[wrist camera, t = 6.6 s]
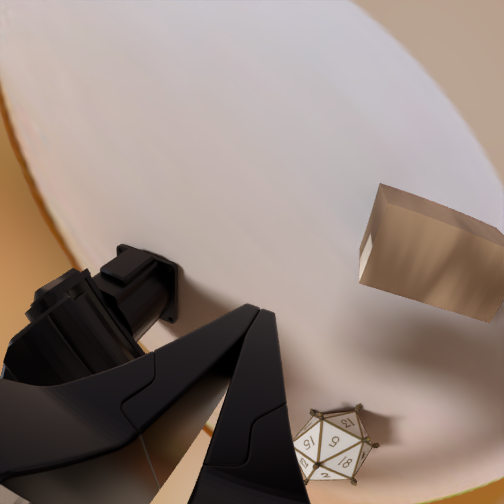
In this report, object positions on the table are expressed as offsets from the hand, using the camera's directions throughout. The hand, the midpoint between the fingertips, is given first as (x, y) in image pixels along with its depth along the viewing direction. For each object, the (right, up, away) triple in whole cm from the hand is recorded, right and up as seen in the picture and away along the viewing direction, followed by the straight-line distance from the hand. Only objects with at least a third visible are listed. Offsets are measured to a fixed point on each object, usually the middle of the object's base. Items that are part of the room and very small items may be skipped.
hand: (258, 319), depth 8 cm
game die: (+9, -15, +18) cm, 25 cm away
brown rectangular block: (+6, +3, +7) cm, 10 cm away
